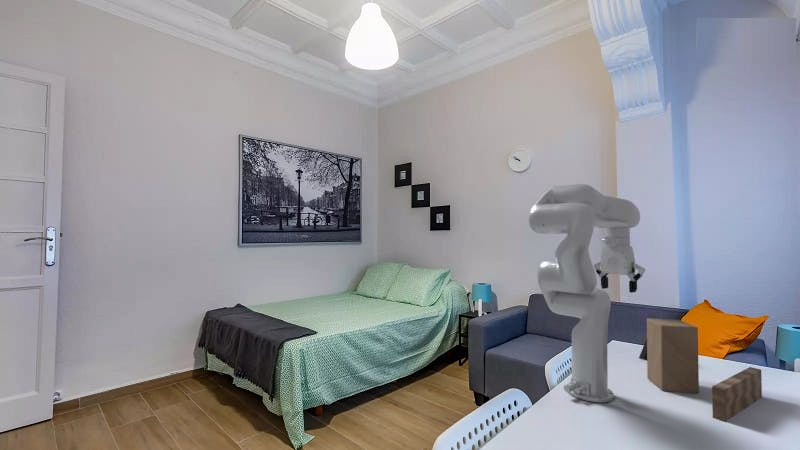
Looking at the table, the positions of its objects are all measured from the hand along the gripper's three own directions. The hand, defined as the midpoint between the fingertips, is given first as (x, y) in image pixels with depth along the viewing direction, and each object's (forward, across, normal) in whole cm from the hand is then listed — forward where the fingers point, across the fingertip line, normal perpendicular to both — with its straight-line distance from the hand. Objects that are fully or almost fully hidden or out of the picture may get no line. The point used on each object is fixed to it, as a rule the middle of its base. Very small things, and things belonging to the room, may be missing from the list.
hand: (618, 290), depth 129 cm
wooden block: (+28, +16, -1) cm, 32 cm away
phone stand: (+29, +2, +21) cm, 36 cm away
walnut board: (+28, +32, 0) cm, 43 cm away
